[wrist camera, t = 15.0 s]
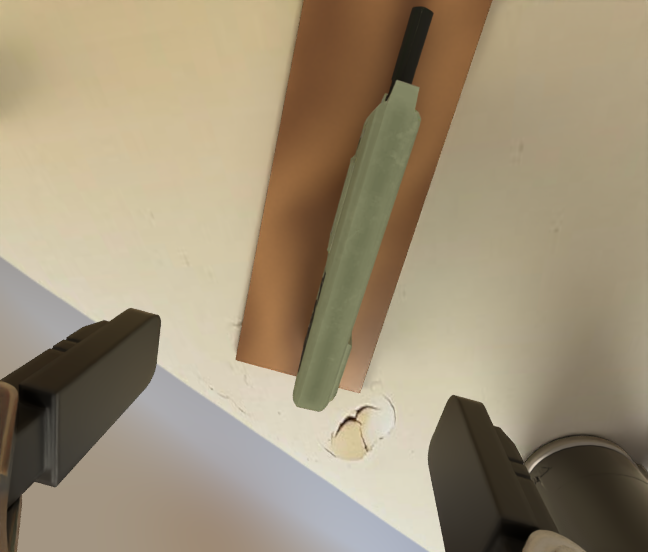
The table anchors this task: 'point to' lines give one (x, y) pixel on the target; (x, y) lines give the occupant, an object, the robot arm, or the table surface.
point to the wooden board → (347, 164)
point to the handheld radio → (361, 224)
